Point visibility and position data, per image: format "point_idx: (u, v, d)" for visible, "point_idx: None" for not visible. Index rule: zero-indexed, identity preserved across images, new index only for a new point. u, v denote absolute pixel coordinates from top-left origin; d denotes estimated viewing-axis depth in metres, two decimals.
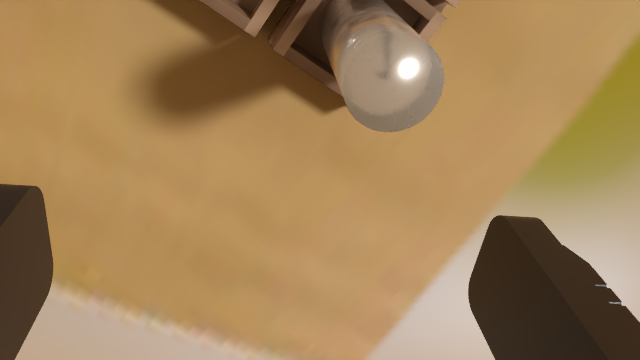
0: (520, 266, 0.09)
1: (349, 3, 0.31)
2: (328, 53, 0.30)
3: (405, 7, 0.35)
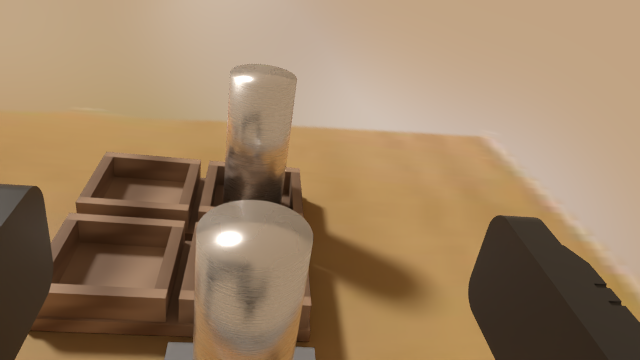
0: (520, 265, 0.09)
1: (238, 182, 0.41)
2: (276, 162, 0.41)
3: (218, 192, 0.46)
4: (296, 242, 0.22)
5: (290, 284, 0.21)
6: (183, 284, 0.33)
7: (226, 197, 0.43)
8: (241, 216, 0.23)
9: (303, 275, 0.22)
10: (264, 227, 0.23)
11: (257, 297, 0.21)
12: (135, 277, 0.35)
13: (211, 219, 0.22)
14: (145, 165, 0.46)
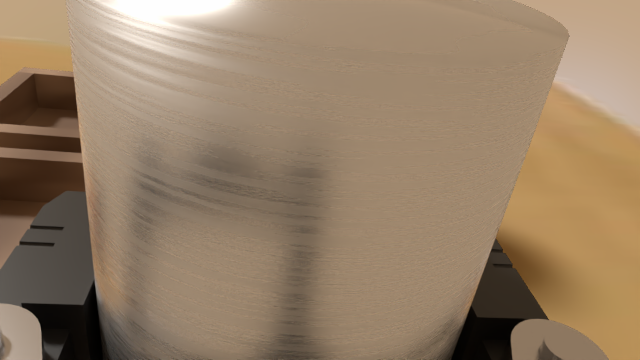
0: None
1: None
2: None
3: None
4: (497, 14, 0.05)
5: (502, 175, 0.05)
6: None
7: None
8: None
9: (525, 154, 0.05)
10: None
11: (361, 232, 0.04)
12: None
13: None
14: None
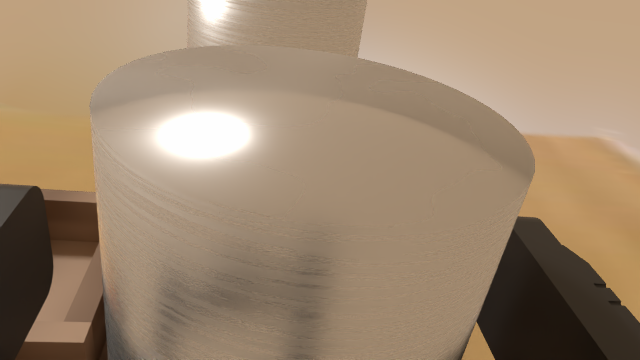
0: (520, 265, 0.09)
1: None
2: None
3: None
4: (474, 140, 0.06)
5: (474, 295, 0.05)
6: None
7: None
8: (262, 72, 0.07)
9: None
10: (346, 98, 0.06)
11: (350, 358, 0.05)
12: None
13: (159, 70, 0.06)
14: None
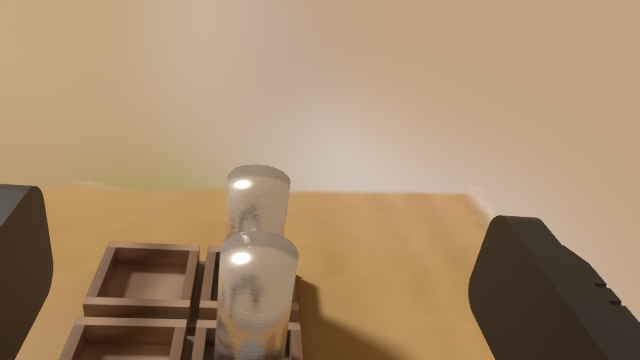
0: (520, 265, 0.09)
1: None
2: None
3: (217, 276, 0.48)
4: (287, 259, 0.33)
5: (284, 286, 0.32)
6: None
7: None
8: (249, 242, 0.34)
9: (292, 280, 0.33)
10: (265, 249, 0.34)
11: (263, 296, 0.32)
12: None
13: (229, 245, 0.33)
14: (146, 253, 0.48)
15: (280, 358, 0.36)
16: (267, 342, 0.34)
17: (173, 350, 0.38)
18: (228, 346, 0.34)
